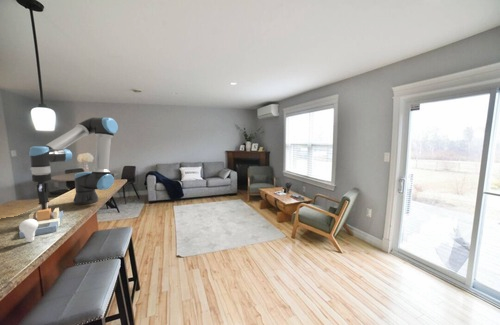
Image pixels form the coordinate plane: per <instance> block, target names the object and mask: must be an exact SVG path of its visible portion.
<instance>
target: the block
mask: <svg viewBox="0 0 500 325" xmlns="http://www.w3.org/2000/svg"><path fill="white" fill-rule="evenodd" d="M51 212H52V208H51V207H50V208H49V207H48V209H44V210H42V209H41V208H40V209H37V210H36V214H37V221H42V220H48V219H50V218H51V217H52V215H51Z"/></svg>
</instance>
